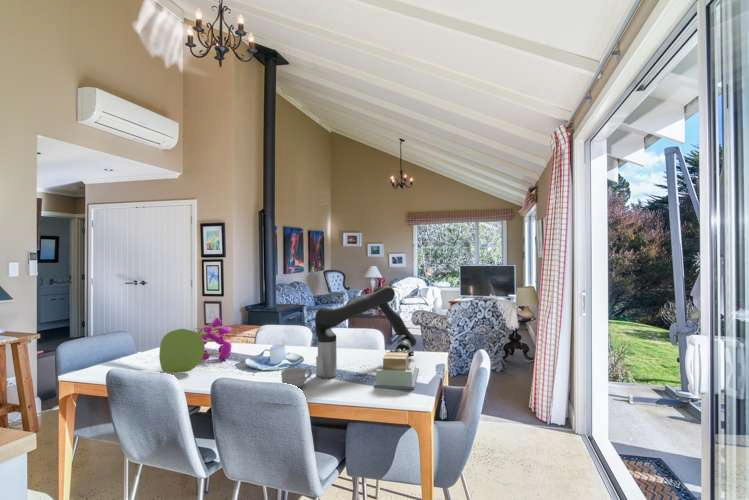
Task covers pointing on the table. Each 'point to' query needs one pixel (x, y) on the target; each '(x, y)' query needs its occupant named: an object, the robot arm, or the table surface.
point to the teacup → (295, 376)
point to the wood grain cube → (395, 361)
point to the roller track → (396, 378)
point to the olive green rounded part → (191, 347)
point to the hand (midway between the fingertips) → (399, 357)
